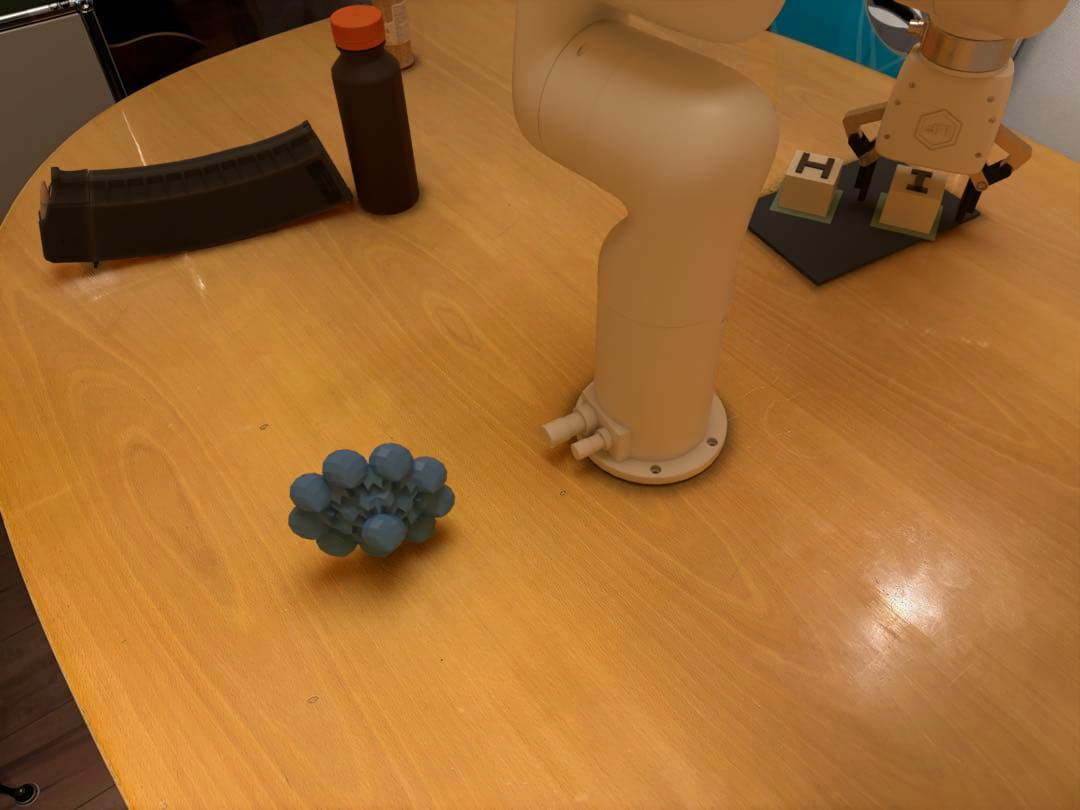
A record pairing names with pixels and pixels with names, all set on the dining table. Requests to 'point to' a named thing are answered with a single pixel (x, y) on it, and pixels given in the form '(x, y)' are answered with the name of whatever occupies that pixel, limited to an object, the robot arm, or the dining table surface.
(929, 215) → the tile
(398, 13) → the sprinkles bottle
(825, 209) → the tile
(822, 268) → the mat
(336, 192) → the magazine
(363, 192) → the vinegar
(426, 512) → the grapes
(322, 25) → the dining table surface
